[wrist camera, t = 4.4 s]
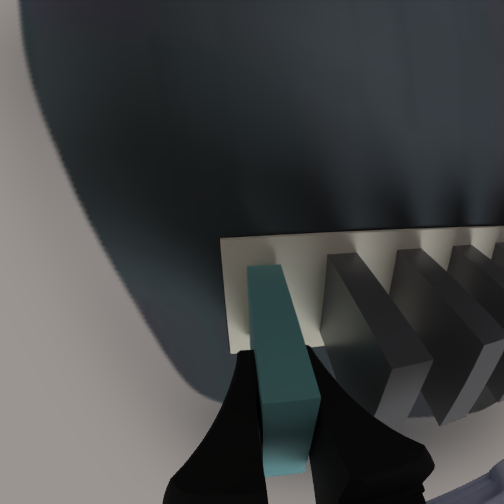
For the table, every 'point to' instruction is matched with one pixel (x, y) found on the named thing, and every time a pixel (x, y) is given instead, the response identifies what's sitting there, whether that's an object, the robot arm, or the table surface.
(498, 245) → the tile
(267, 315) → the tile teal
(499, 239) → the mat
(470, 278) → the tile
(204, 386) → the table surface
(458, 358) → the tile
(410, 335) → the tile
